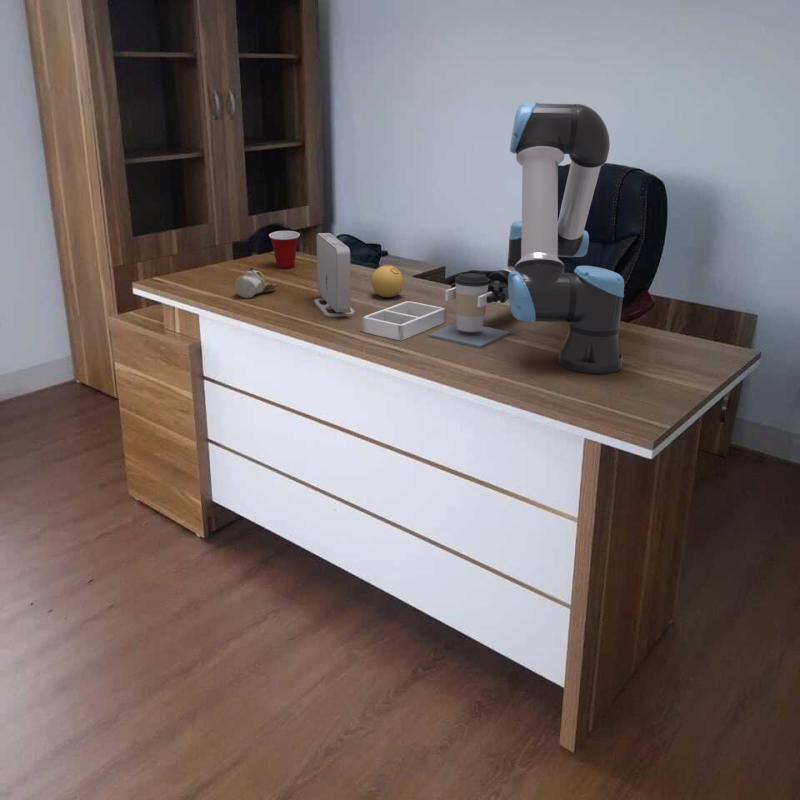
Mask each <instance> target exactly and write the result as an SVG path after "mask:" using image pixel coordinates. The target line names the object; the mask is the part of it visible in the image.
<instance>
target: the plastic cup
mask: <svg viewBox="0 0 800 800" xmlns="http://www.w3.org/2000/svg"><path fill="white" fill-rule="evenodd" d="M300 235H301V233H300V232H297V231H293V230H277V231H273V232H271V233H269V234H268V236H269V239H270V241H271V245H272V249H273V253H274V259H275V262H276V266H277V268H278V269H282V270H290V269H293V268H294V267H295V261H296V255H297V247H298V241H299V237H300Z"/></svg>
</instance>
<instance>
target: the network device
mask: <svg viewBox="0 0 800 800" xmlns="http://www.w3.org/2000/svg"><path fill="white" fill-rule="evenodd" d="M316 274H317V275H316V279H317V280H316V282H317V283H316V286H317V287H316V288H317V293H318V294H319V295H320V296H321V298H316V299H314V304H315V305H316V307H317V308H318V309H319V310H320V311H321V312H322V313H323V315H324V316H327V317H330V318H331V317H333V318H337V317H351V316H354V315H355V310H354V309H353V308H352V307H351V250H350V248H349V246H348V245H346V244H344V243H343V242H342V241H341V240H339V239H338V238H337V237H336V236H334V235H333V234H332V233H330V232H324V233H323V232H319V233H317V234H316ZM320 302H326V304H321V303H320ZM327 310H333V311H334V313H329V312H328V311H327ZM335 312H336V313H335Z"/></svg>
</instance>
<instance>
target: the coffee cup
mask: <svg viewBox="0 0 800 800" xmlns="http://www.w3.org/2000/svg"><path fill="white" fill-rule="evenodd" d="M486 275H487V274H485V273H483V272H480V271H479V270H477V269H476V270H475V269H474V270H473V269H470V270H467V271H463V272H460V273H459V274H458V276H455V280H454V283H456V291H455V295H456V298H455V313H456V322H457V329H459V330H461V331H466V332H477V331H481V330H482V329H483V326H484V322H485V321H484V320H485V315H486V310H487V305H484V306H482V307H477V304H478V296H481V295H483V294H486V293H488V285H489V278H487V277H488V276H486Z"/></svg>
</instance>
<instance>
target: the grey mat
mask: <svg viewBox="0 0 800 800" xmlns="http://www.w3.org/2000/svg"><path fill="white" fill-rule="evenodd" d="M510 334H511V332H510V331H509V330H503V329H498V328H494V327H490V326H489V327H488V326H484V325H483V329H482V330H481V331H477V332H466V331H461V330H459V329H457V321H456V322H454V323H452V324H449V325H447V326H444V327H442V328H440V329H437V330H434V331H432V332H431V333H428V334H427V337H429V338H433V339H438V340H442V341H446V342H449V343H450V342H451V343H455V344H460V345H464V346H468V347H473V348H478V349H481V348H483V347H486V346H488V345H490V344H492V343H494V342H496V341H499V340H501V339H502V338H504V337H506V336H508V335H510Z"/></svg>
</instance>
